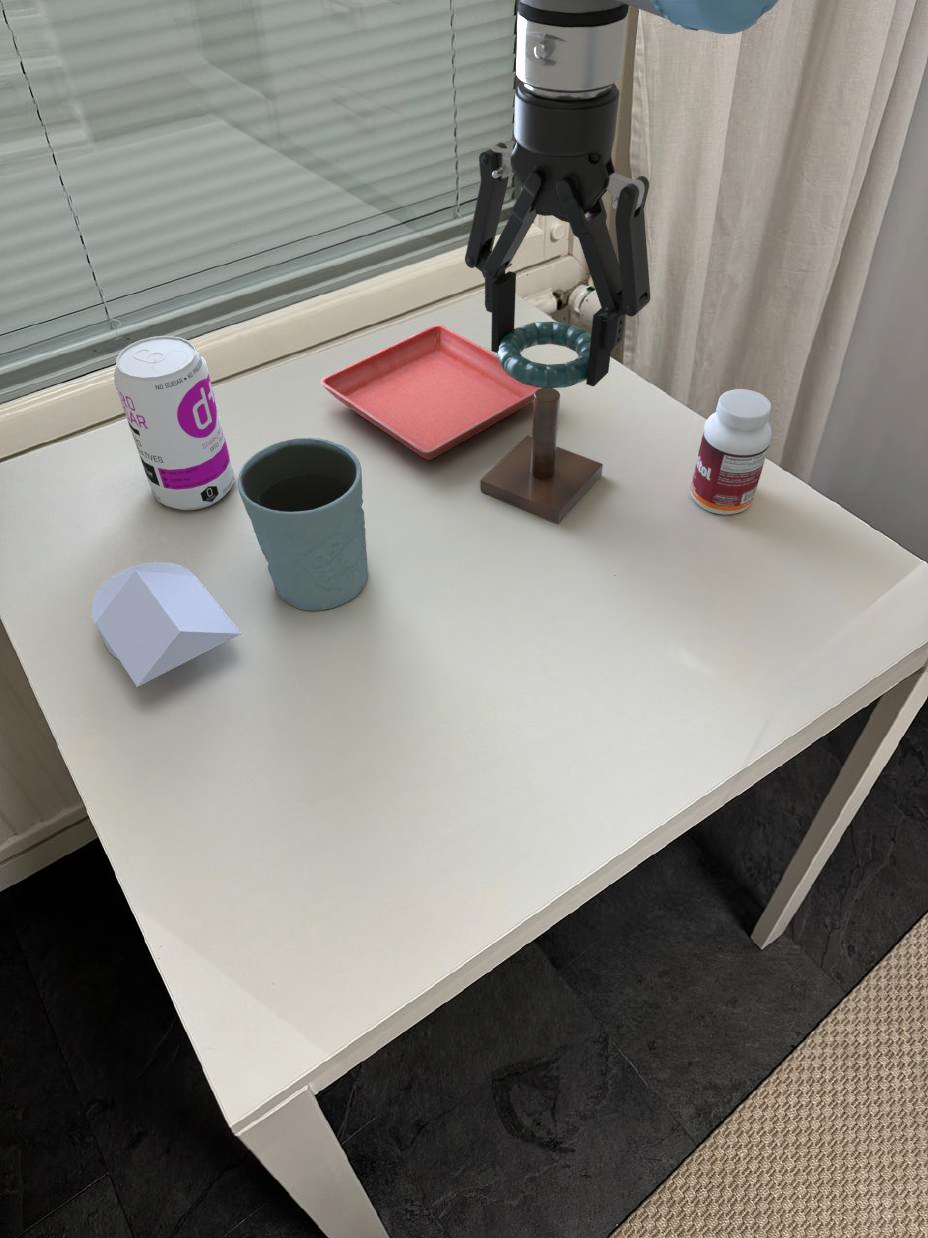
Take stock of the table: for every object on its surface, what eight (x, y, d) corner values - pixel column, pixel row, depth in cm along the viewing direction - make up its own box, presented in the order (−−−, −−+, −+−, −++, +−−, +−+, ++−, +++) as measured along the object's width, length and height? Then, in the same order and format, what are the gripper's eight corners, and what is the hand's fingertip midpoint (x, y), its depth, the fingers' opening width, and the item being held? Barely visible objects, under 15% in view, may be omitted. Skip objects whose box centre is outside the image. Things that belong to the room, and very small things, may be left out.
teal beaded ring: (618, 355, 81) (621, 335, 80) (567, 404, 76) (569, 384, 75) (532, 327, 85) (533, 307, 83) (477, 372, 80) (477, 352, 78)
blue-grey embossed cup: (381, 607, 79) (369, 502, 70) (266, 626, 78) (239, 522, 69) (365, 533, 86) (352, 428, 77) (259, 549, 84) (233, 445, 75)
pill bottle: (686, 475, 91) (707, 381, 83) (748, 478, 91) (774, 384, 83) (691, 515, 87) (714, 420, 79) (756, 518, 86) (785, 423, 78)
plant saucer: (547, 408, 100) (549, 382, 97) (427, 478, 91) (426, 452, 89) (439, 347, 109) (438, 322, 106) (320, 406, 100) (316, 380, 98)
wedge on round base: (249, 660, 75) (182, 574, 82) (233, 605, 70) (163, 519, 77) (148, 713, 71) (87, 618, 78) (124, 658, 66) (61, 563, 73)
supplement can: (251, 474, 92) (220, 343, 81) (203, 523, 87) (163, 389, 76) (187, 455, 94) (148, 325, 83) (137, 501, 89) (89, 369, 78)
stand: (601, 475, 91) (613, 386, 84) (557, 524, 86) (565, 434, 79) (526, 446, 95) (531, 358, 87) (480, 491, 90) (480, 402, 82)
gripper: (413, 70, 66) (426, 344, 82) (686, 128, 57) (639, 420, 74) (470, 44, 70) (471, 310, 87) (732, 95, 62) (678, 379, 78)
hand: (548, 361), depth 80 cm, fingers closed on teal beaded ring, 9 cm apart
